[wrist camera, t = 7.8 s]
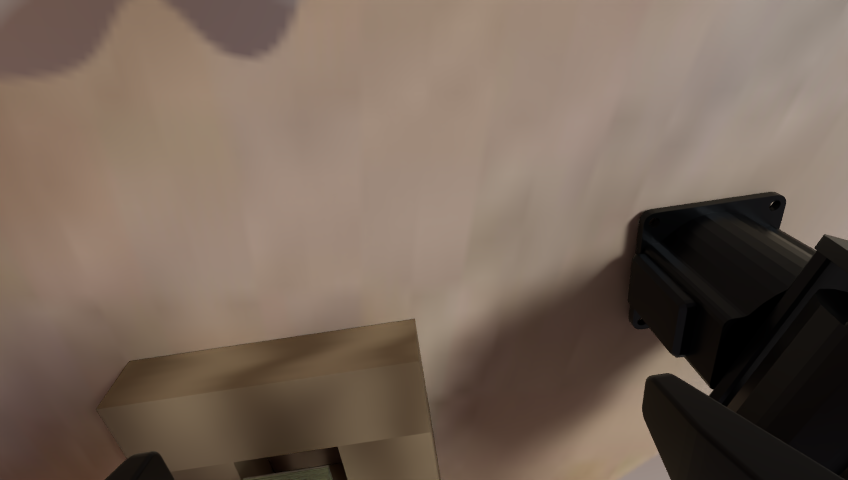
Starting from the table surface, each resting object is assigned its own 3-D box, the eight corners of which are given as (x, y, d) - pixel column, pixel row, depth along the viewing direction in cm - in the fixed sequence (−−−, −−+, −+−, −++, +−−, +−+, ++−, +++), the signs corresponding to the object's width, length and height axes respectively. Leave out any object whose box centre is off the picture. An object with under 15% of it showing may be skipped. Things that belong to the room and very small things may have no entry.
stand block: (414, 319, 23) (419, 369, 20) (443, 496, 29) (450, 555, 26) (129, 361, 23) (89, 418, 20) (221, 530, 29) (202, 594, 26)
